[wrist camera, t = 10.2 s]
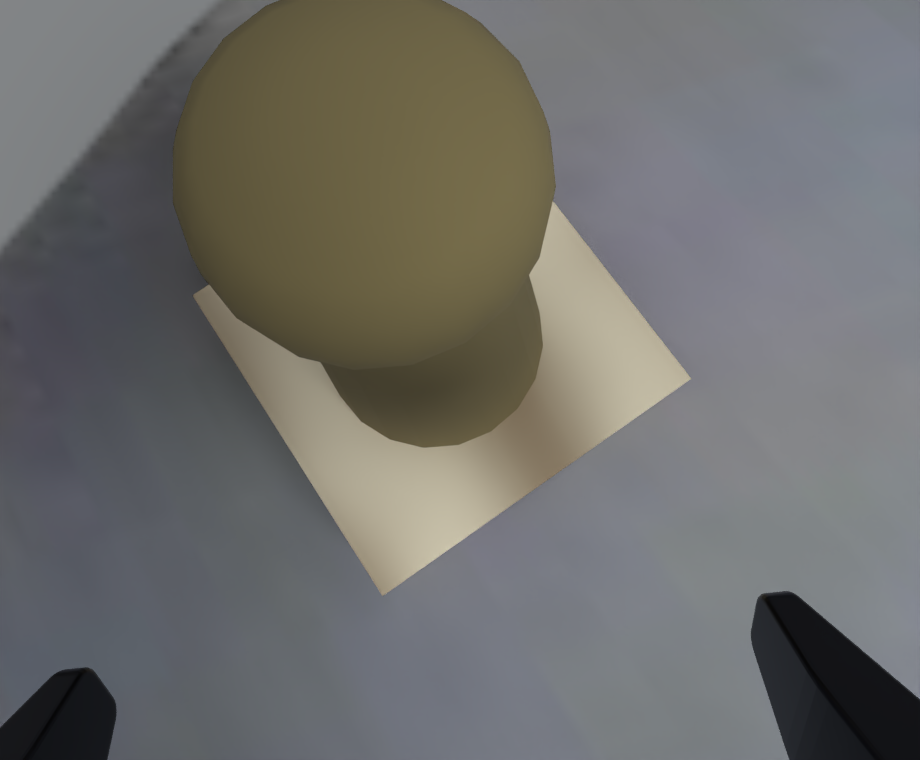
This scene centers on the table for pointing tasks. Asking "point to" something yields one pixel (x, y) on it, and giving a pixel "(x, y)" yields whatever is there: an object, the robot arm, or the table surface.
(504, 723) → the table surface
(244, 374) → the block
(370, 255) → the cork
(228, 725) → the table surface
